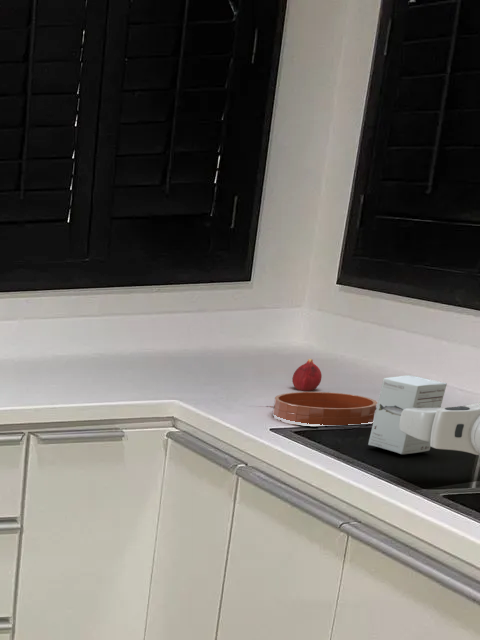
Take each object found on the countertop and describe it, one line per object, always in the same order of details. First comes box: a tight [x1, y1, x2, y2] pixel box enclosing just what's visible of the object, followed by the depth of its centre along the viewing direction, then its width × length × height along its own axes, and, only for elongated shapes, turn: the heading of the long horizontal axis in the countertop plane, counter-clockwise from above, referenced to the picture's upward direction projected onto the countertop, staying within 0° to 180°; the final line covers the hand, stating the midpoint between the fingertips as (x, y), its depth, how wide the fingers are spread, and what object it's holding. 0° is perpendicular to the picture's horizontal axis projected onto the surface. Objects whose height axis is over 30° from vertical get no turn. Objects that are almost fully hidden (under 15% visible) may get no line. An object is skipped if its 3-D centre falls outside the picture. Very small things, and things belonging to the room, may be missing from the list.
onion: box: [291, 358, 323, 392], centre depth 263 cm, size 6×6×8 cm
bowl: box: [272, 391, 378, 425], centre depth 239 cm, size 18×18×4 cm
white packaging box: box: [367, 374, 448, 455], centre depth 212 cm, size 7×7×13 cm
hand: (442, 411), depth 201 cm, fingers open, 8 cm apart
